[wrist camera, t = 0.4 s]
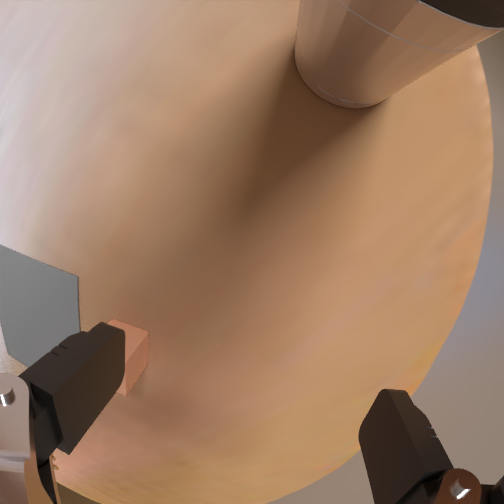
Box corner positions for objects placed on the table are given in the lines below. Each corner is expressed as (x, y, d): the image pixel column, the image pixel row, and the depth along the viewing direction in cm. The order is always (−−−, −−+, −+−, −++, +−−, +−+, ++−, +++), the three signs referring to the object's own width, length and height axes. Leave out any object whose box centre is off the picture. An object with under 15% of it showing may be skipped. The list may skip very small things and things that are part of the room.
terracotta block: (112, 318, 29) (83, 346, 24) (149, 331, 29) (125, 363, 24) (112, 350, 31) (87, 380, 25) (147, 363, 31) (126, 396, 25)
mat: (-10, 240, 29) (-11, 240, 29) (78, 276, 28) (77, 277, 28) (8, 353, 35) (8, 354, 34) (89, 400, 34) (88, 401, 34)
